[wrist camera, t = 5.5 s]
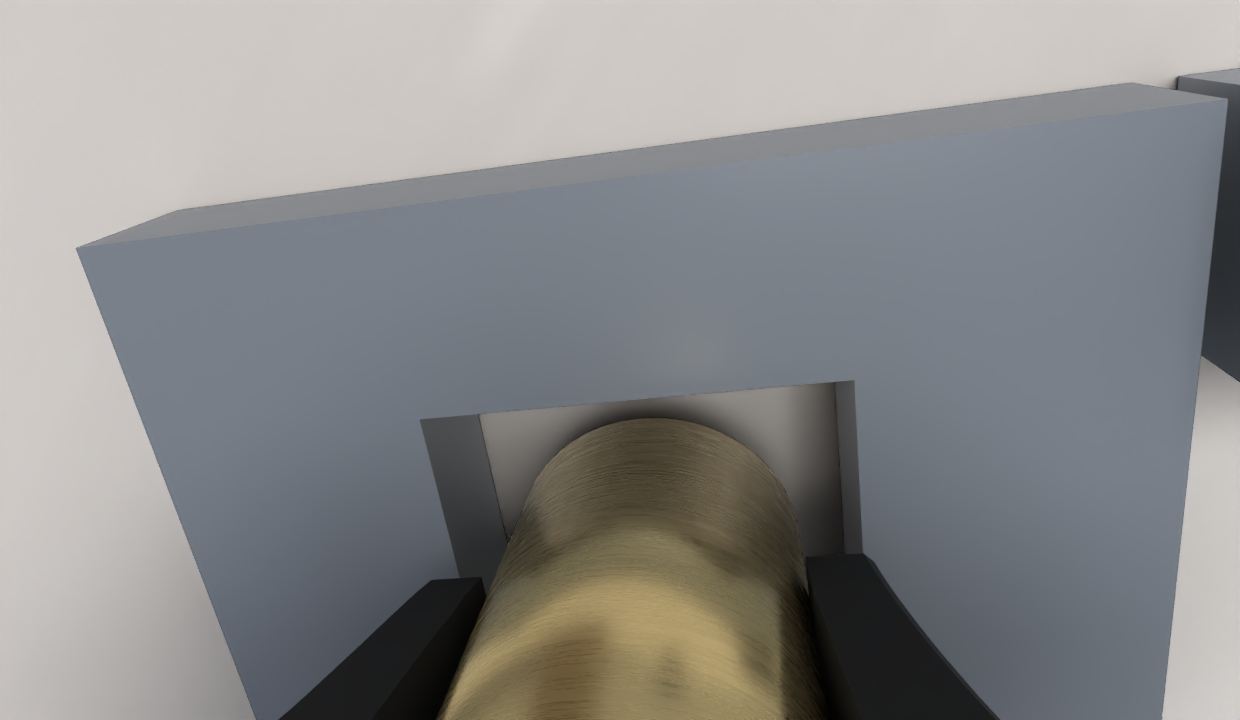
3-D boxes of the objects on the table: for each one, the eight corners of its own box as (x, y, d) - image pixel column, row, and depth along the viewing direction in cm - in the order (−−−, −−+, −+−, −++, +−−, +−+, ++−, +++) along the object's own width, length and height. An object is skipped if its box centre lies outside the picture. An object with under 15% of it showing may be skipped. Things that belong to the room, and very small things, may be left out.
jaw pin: (544, 662, 12) (396, 1207, 6) (499, 428, 11) (267, 849, 5) (807, 653, 11) (892, 1238, 6) (790, 407, 10) (878, 845, 5)
